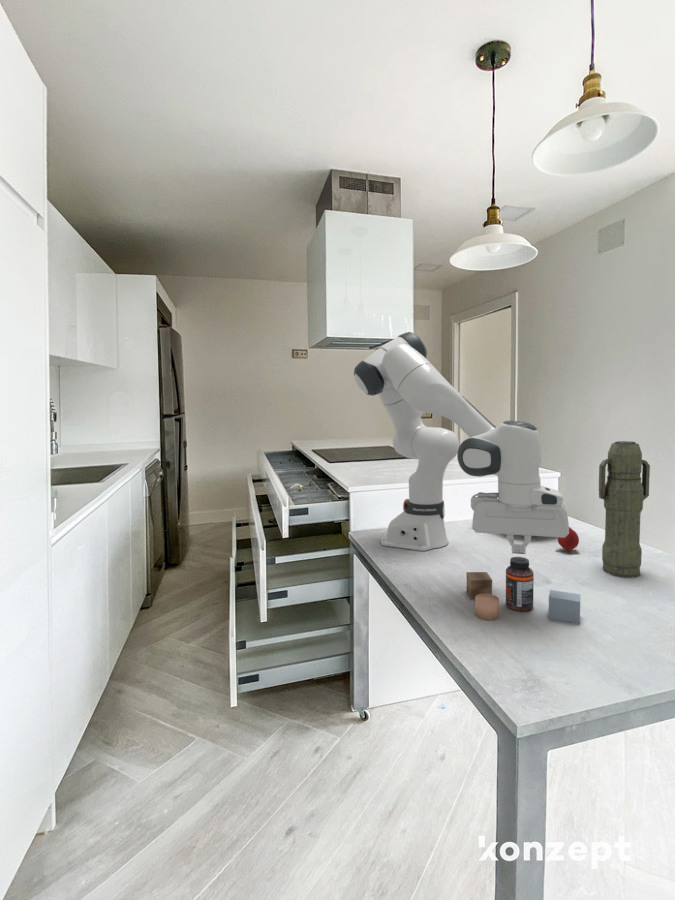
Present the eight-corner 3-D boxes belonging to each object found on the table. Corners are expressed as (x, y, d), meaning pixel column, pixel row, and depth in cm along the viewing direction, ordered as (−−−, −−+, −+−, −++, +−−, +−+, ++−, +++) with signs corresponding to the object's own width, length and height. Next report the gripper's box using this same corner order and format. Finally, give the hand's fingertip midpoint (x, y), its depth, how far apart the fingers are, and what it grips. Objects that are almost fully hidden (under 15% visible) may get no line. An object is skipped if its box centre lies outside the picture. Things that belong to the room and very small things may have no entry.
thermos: (654, 576, 118) (660, 442, 114) (609, 578, 118) (613, 444, 114) (632, 564, 127) (636, 439, 123) (590, 566, 127) (593, 441, 123)
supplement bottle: (501, 601, 108) (501, 555, 106) (525, 599, 108) (525, 553, 107) (512, 613, 102) (513, 564, 100) (538, 611, 102) (538, 562, 101)
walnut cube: (471, 600, 109) (470, 580, 109) (466, 591, 114) (466, 572, 114) (492, 599, 109) (492, 579, 108) (486, 591, 114) (486, 571, 113)
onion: (574, 548, 142) (574, 523, 141) (582, 554, 136) (582, 528, 135) (554, 548, 142) (554, 523, 141) (561, 554, 136) (562, 528, 136)
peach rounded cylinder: (475, 619, 100) (474, 601, 99) (475, 608, 105) (475, 592, 104) (499, 621, 98) (499, 604, 98) (498, 611, 103) (498, 594, 103)
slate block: (548, 618, 99) (548, 596, 98) (549, 610, 102) (550, 589, 102) (579, 624, 96) (580, 601, 95) (580, 616, 99) (580, 594, 99)
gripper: (469, 494, 102) (470, 554, 104) (571, 498, 95) (569, 561, 97) (471, 489, 108) (471, 545, 110) (566, 491, 101) (565, 551, 103)
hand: (518, 553), depth 103 cm, fingers closed
